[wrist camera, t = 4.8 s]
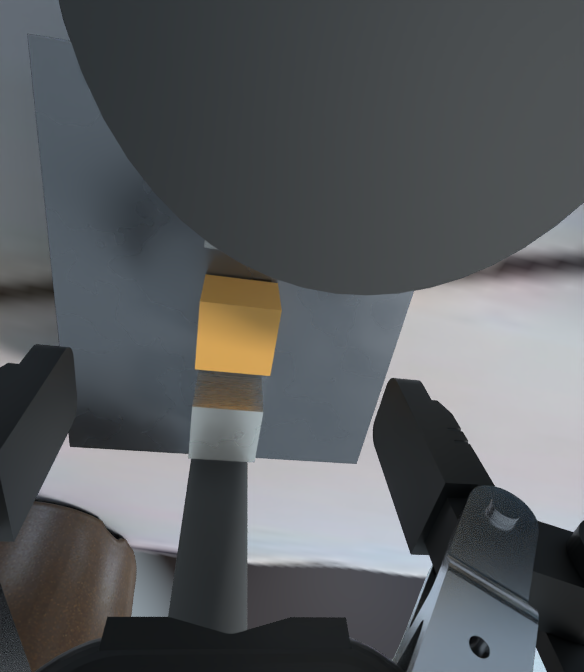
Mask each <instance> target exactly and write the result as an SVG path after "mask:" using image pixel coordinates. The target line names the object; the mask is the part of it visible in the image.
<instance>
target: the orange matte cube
mask: <svg viewBox="0 0 584 672" xmlns="http://www.w3.org/2000/svg"><path fill="white" fill-rule="evenodd" d="M281 312H282V309H281V302H280V294H279V287H278V283H273V282H264V281H256V280H248V279H240V278H232V277H223V276H215V275H207V274H205V279H204V284H203V289H202V293H201V298H200V306H199V320H198V333H197V346H196V360H195V369H197V370H208V371H219V372H230V373H242V374H253V375H264V376H270V374H271V369H272V363H273V357H274V352H275V346H276V340H277V335H278V329H279V323H280V318H281Z"/></svg>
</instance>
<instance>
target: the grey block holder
mask: <svg viewBox="0 0 584 672" xmlns="http://www.w3.org/2000/svg"><path fill="white" fill-rule="evenodd" d="M27 35H28V45H29V54H30V64H31V74H32V84H33V93H34V103H35V113H36V122H37V132H38V142H39V151H40V161H41V171H42V181H43V190H44V200H45V210H46V219H47V229H48V239H49V249H50V258H51V268H52V278H53V287H54V297H55V307H56V317H57V326H58V336H59V346H60V347H70V348H71V349H72V351H73V355H74V366H75V378H76V390H77V409H76V414H75V418H74V421H73V424H72V426H71V428H70V430H69V432H68V433H69V443H70V447H83V448H100V449H116V450H133V451H150V452H167V453H183V454H189V456H188V458H189V459H206V460H223V461H240V462H255V458H267V459H284V460H300V461H317V462H334V463H350V464H357V461H358V458H359V455H360V452H361V449H362V446H363V443H364V440H365V437H366V434H367V431H368V428H369V425H370V422H371V419H372V416H373V413H374V410H375V407H376V403H377V400H378V397H379V394H380V391H381V388H382V385H383V382H384V379H385V376H386V373H387V370H388V367H389V364H390V361H391V358H392V355H393V352H394V349H395V346H396V343H397V340H398V337H399V334H400V331H401V328H402V325H403V322H404V319H405V316H406V313H407V310H408V307H409V304H410V301H411V298H412V295H413V292H414V291H409V292H404V293H398V294H382V295H350V294H334V293H329V292H323V291H318V290H313V289H307V288H302V287H299V286H296V285H293V284H290V283H287V282H283V281H280V280H277V279H274V278H271V277H269V276H267V275H265V274H263V273H260V272H258V271H256V270H254V269H252V268H250V267H247V266H245V265H243V264H241V263H239V262H238V261H236V260H235V259H233V258H231V257H230V256H228V255H227V254H225V253H223V252H222V251H220V250H219V249H217V248H215V247H214V246H212V245H211V244H210V243H208V242H207V241H206V240H205V239H203V238H202V237H201V236H200V235H198V234H197V233H196V232H195V231H193V230H192V229H191V228H190V227H188V226H187V225H186V224H185V223H183V222H182V221H181V220H180V219H179V218H178V217H177V216H176V215H175V214H174V213H173V212H172V211H171V210H170V208H169V207H168V206H167V205H166V204H165V203H164V202H163V201H162V200H161V199H160V198H159V197H158V196H157V195H156V194H155V193H154V192H153V191H152V189H151V188H150V187H149V185H148V184H147V183H146V182H145V180H144V179H143V178H142V176H141V175H140V174H139V173H138V171H137V170H136V169H135V167H134V166H133V165H132V164H131V162H130V161H129V160H128V158H127V157H126V155H125V153H124V152H123V150H122V148H121V147H120V145H119V144H118V142H117V140H116V139H115V137H114V135H113V134H112V132H111V130H110V129H109V127H108V126H107V124H106V122H105V121H104V119H103V117H102V115H101V113H100V111H99V108H98V106H97V104H96V102H95V100H94V98H93V96H92V94H91V91H90V89H89V87H88V85H87V83H86V81H85V79H84V77H83V74H82V72H81V69H80V66H79V64H78V61H77V58H76V55H75V52H74V49H73V46H72V43H71V41H69V40H63V39H57V38H51V37H45V36H38V35H32V34H27ZM205 274H207V275H215V276H223V277H232V278H240V279H248V280H256V281H264V282H273V283H278V287H279V294H280V302H281V309H282V312H281V318H280V323H279V329H278V335H277V340H276V346H275V352H274V357H273V363H272V369H271V374H270V376H264V375H253V374H242V373H230V372H219V371H208V370H197V369H195V360H196V346H197V333H198V320H199V306H200V298H201V293H202V289H203V284H204V279H205Z"/></svg>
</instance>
